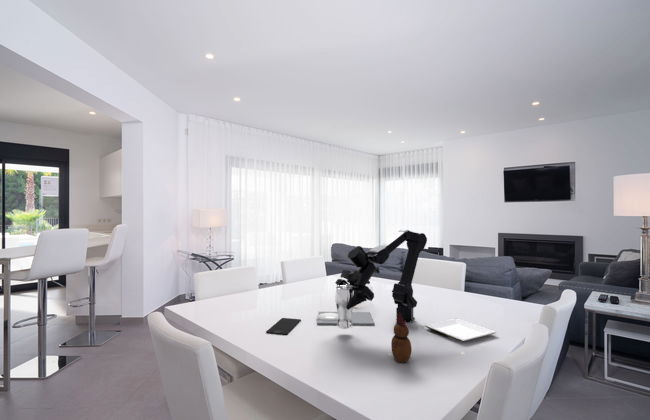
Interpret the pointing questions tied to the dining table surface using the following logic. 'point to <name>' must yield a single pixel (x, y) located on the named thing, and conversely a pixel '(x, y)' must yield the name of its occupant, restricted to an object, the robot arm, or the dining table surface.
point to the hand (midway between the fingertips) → (341, 306)
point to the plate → (460, 329)
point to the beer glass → (344, 306)
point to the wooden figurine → (401, 341)
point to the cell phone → (283, 326)
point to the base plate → (357, 318)
